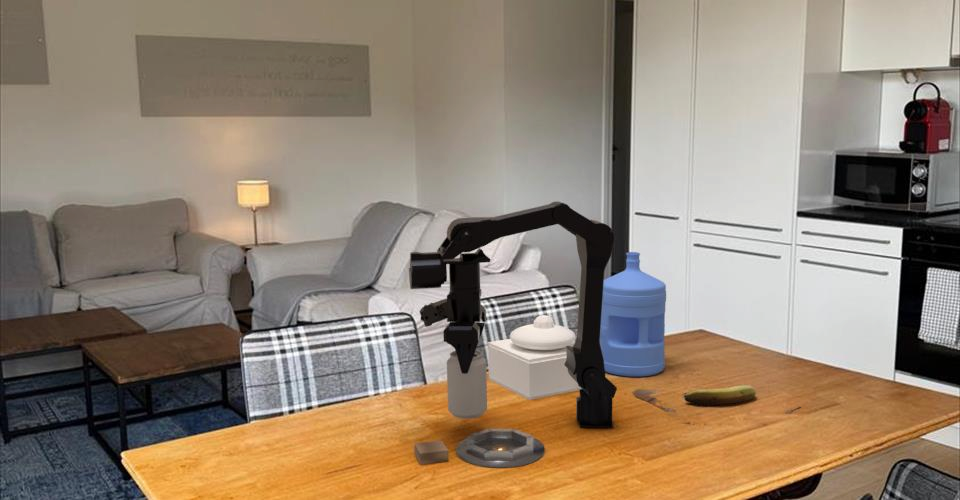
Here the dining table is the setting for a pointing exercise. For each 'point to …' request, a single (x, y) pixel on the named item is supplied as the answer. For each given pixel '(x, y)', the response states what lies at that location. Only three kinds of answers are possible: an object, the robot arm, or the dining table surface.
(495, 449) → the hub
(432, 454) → the walnut block
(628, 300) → the water jug
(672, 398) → the dining table surface
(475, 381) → the can
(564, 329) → the butter dish
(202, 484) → the dining table surface
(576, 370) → the robot arm
